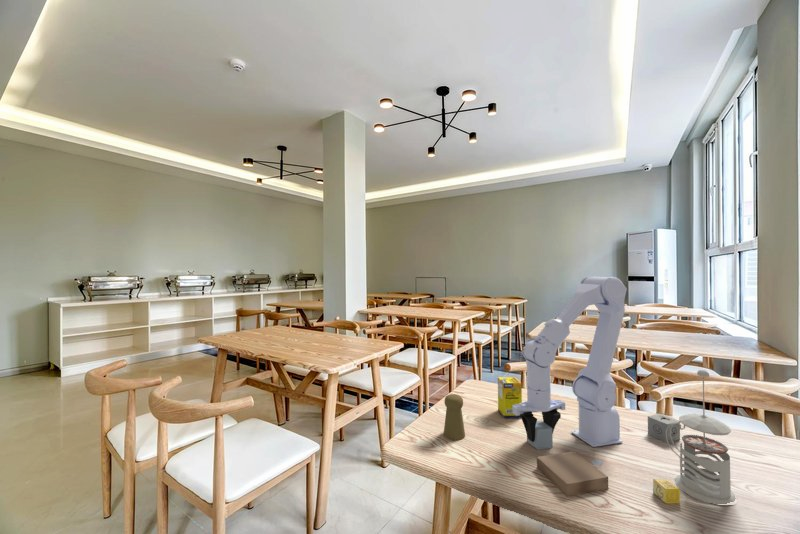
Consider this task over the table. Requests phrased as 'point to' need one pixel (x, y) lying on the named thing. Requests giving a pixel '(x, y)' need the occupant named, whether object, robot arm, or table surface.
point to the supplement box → (509, 395)
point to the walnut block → (572, 473)
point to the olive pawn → (454, 418)
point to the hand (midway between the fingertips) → (539, 438)
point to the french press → (704, 458)
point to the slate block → (542, 436)
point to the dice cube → (663, 427)
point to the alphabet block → (666, 491)
